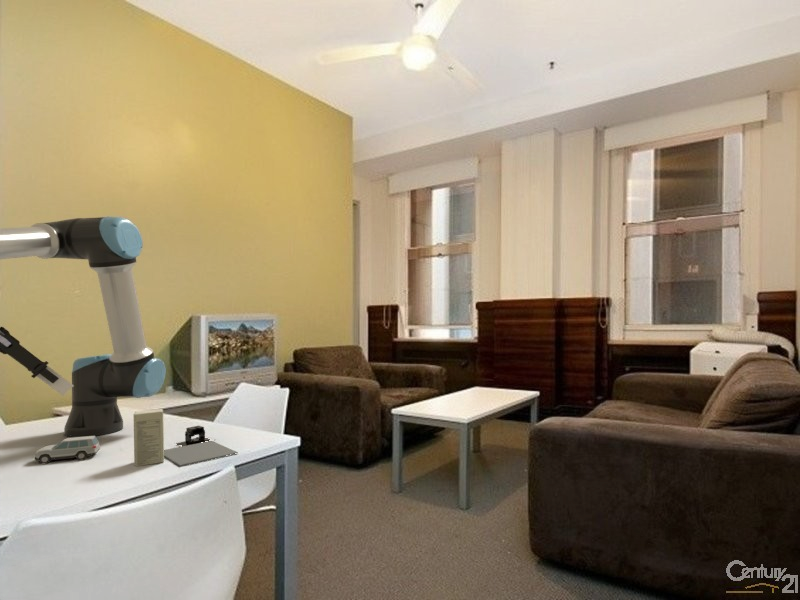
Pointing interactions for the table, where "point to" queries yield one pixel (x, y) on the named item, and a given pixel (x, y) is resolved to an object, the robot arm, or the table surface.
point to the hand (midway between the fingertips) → (67, 390)
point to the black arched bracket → (192, 432)
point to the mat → (196, 453)
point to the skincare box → (148, 437)
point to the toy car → (69, 449)
